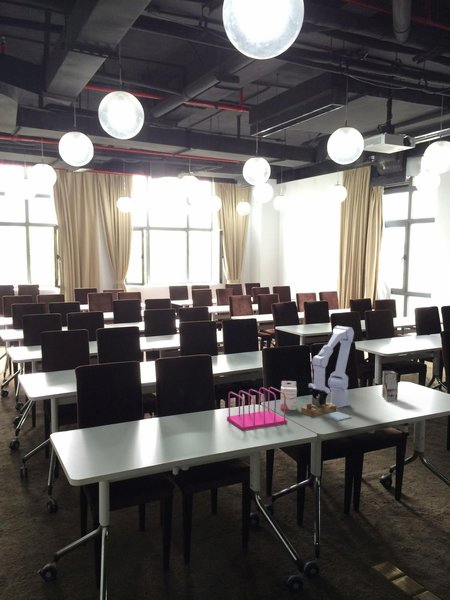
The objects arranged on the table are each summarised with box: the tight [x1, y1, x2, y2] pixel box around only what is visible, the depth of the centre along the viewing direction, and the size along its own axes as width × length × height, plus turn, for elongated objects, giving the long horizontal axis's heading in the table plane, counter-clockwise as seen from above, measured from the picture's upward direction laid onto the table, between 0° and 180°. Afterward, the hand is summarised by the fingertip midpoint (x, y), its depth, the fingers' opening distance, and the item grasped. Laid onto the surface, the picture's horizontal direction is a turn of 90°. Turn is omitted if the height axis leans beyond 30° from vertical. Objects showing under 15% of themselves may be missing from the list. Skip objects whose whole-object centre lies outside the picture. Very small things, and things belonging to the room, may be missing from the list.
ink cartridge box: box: [280, 380, 298, 411], centre depth 272 cm, size 9×5×15 cm, turn 84°
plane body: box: [300, 401, 337, 417], centre depth 267 cm, size 18×8×5 cm, turn 123°
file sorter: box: [226, 386, 288, 431], centre depth 250 cm, size 17×25×16 cm
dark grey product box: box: [311, 395, 327, 406], centre depth 267 cm, size 6×4×4 cm
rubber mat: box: [322, 411, 352, 422], centre depth 259 cm, size 10×10×1 cm
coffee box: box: [381, 370, 399, 403], centre depth 290 cm, size 9×6×16 cm
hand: (319, 403), depth 267 cm, fingers closed on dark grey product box, 4 cm apart
